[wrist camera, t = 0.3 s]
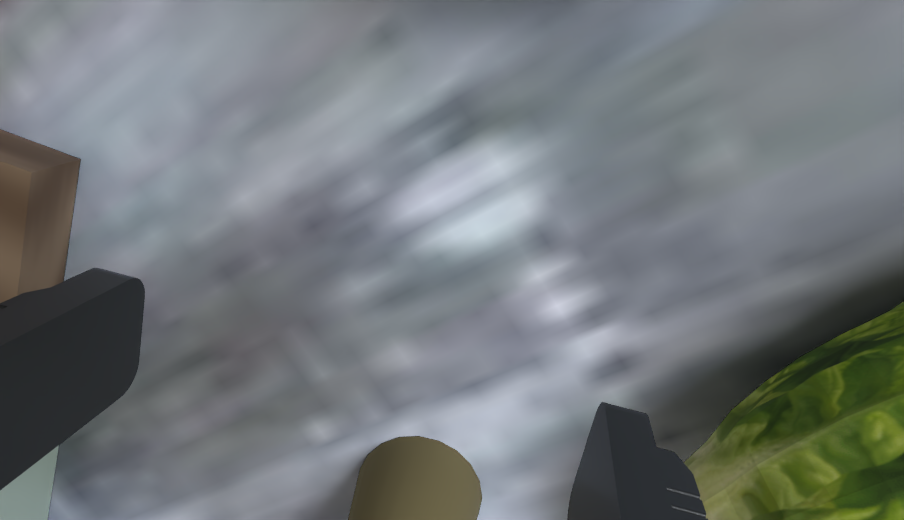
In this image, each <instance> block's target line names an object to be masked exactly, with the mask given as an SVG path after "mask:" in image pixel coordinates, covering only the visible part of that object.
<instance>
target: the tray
mask: <svg viewBox="0 0 904 520" xmlns="http://www.w3.org/2000/svg"><path fill="white" fill-rule="evenodd" d="M58 448H59V445H58V446H57V447H56V448H54V449H53V450H52V451H51V452H49V453H48V454H47V455H45V456H44V457H43V458H42V459H40V460H39V461H38V462H36V463H35V464H34V465H33V466H31V467H30V468H29V469H27V470H26V471H25V472H23V473H22V474H21V475H20V476H18V477H17V478H16V479H14V480H13V481H12V482H11V483H9V484H8V485H7V486H5V487H4V488H3V489H2V490H0V520H48V513H49V507H50V500H51V494H52V487H53V481H54V474H55V468H56V461H57V455H58Z"/></svg>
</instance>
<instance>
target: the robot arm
mask: <svg viewBox="0 0 904 520" xmlns="http://www.w3.org/2000/svg"><path fill="white" fill-rule="evenodd" d="M144 299H145V290H144V285H143V283H142V282H141V280H139V279H138V278H134V277H130V276H126V275H122V274H119V273H115V272H111V271H107V270H103V269H100V268H93V269H90V270H88V271H86V272H84V273H81V274H79V275H77V276H75V277H72V278H70V279H68V280H66V281H64V282H61V283H59V284H57V285H55V286H52V287H50V288H45V289H40V290H35V291H30V292H25V293H22V294H20V295H18V296H15V297H13V298H11V299H9V300H6V301H4V302H2V303H0V490H2V489H3V488H4V487H5V486H7V485H8V484H9V483H11V482H12V481H13V480H14V479H16V478H17V477H18V476H20V475H21V474H22V473H23V472H25V471H26V470H27V469H29V468H30V467H31V466H33V465H34V464H35V463H36V462H38V461H39V460H40V459H42V458H43V457H44V456H45V455H47V454H48V453H49V452H51V451H52V450H53V449H54V448H56V447H57V446H58V445H60V444H61V443H62V442H64V441H65V440H66V439H67V438H69V437H70V436H71V435H73V434H74V433H75V432H76V431H78V430H79V429H80V428H82V427H83V426H84V425H85V424H87V423H88V422H89V421H91V420H92V419H93V418H94V417H96V416H97V415H98V414H100V413H101V412H102V411H104V410H105V409H106V408H107V407H109V406H110V405H111V404H113V403H114V402H115V401H116V400H118V399H119V398H120V397H121V396H123V395H124V393H125V392H126V391H127V390H128V388H129V387H130V385H131V384H132V382H133V380H134V377H135V375H136V372H137V369H138V365H139V356H140V345H141V333H142V322H143V310H144ZM568 520H708V519H707V518H706V511H705V508H704V505H703V502H702V500H700V493H699V490H698V487H697V484H696V481H695V478H694V475H693V473H692V472H691V471H690V470H689V469H688V467H687V466H686V465H685V464H684V463H683V462H682V460H681V459H680V458H679V457H678V456H677V455H676V454H675V452H672V451H669V450H665V449H661V448H658V447H656V444H655V440H654V436H653V432H652V429H651V425H650V421H649V417H648V415H647V414H646V413H642V412H638V411H634V410H630V409H627V408H623V407H619V406H615V405H611V404H608V403H604V402H602V403H601V404H600V406H599V407H598V410H597V412H596V415H595V418H594V421H593V424H592V427H591V430H590V433H589V437H588V440H587V443H586V446H585V449H584V452H583V456H582V459H581V462H580V465H579V468H578V471H577V474H576V478H575V481H574V484H573V488H572V492H571V497H570V502H569V509H568Z"/></svg>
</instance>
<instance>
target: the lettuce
mask: <svg viewBox="0 0 904 520" xmlns="http://www.w3.org/2000/svg"><path fill="white" fill-rule="evenodd" d="M684 464H685V465H686V466H687V467H688V469H689V470H690V471H691V472H692V473H693V475H694V478H695V481H696V484H697V487H698V490H699V493H700V500H702V502H703V505H704V508H705V511H706V518H707V519H708V520H904V302H902V303H900V304H899V305H897V306H896V307H894V308H893V309H891V310H890V311H888V312H886V313H884V314H882V315H880V316H878V317H876V318H874V319H872V320H870V321H868V322H866V323H864V324H862V325H860V326H858V327H856V328H854V329H851V330H849V331H847V332H845V333H843V334H841V335H839V336H837V337H835V338H834V339H832V340H830V341H828V342H826V343H825V344H823V345H821V346H819V347H817V348H816V349H814V350H812V351H810V352H808V353H806V354H805V355H803V356H801V357H799V358H798V359H797V360H795V361H794V362H792V363H791V364H790V365H788V366H787V367H785V368H784V369H782V370H781V371H780V372H778V373H777V374H775V375H774V376H773V377H771V378H770V379H768V380H767V381H765V382H764V383H763V384H762V385H761V386H759V387H758V388H757V389H756V390H755V391H753V392H752V393H751V394H750V395H749V396H748V397H746V398H745V399H744V400H743V401H742V402H740V403H739V404H738V405H737V406H736V407H735V408H733V409H732V410H731V411H730V413H729V414H728V415H727V416H726V418H725V419H724V420H723V421H722V423H721V424H720V425H719V426H718V428H717V429H716V430H715V431H714V432H713V434H712V435H711V436H710V437H709V439H708V440H707V441H706V442H705V443H704V444H703V445H702V446H701V447H700V448H699V449H697V450H696V451H695V452H694V453H693V454H692V455H691V456H690V457H689V458H688V459H687V460H686V461H685V462H684Z"/></svg>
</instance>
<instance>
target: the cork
mask: <svg viewBox="0 0 904 520" xmlns="http://www.w3.org/2000/svg"><path fill="white" fill-rule="evenodd" d="M481 501H482V494H481V488H480V481H479V479H478V477H477V475H476V473H475V472H474V470H473V468H472V466H471V464H470V463H469V462H468V461H467V460H466V459H465V458H464V457H463V456H462V455H461V454H460V453H459V452H458V451H456V450H455V449H453V448H451V447H449V446H447V445H445V444H444V443H442V442H440V441H437V440H433V439H429V438H424V437H420V436H413V437H398V438H395V439H393V440H390V441H387V442H384V443H382V444H380V445H379V446H378V447H377V448H375V449H374V450H373V451H372V452H371V453H369V454H368V456H367V457H366V459H365V461H364V463H363V464H362V466H361V468H360V471H359V475H358V479H357V483H356V488H355V492H354V496H353V500H352V504H351V509H350V513H349V517H348V520H476V519H477V517H478V514H479V510H480V505H481Z"/></svg>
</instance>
